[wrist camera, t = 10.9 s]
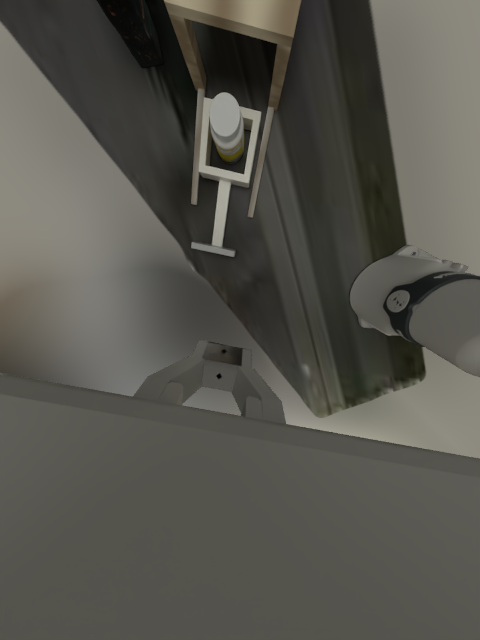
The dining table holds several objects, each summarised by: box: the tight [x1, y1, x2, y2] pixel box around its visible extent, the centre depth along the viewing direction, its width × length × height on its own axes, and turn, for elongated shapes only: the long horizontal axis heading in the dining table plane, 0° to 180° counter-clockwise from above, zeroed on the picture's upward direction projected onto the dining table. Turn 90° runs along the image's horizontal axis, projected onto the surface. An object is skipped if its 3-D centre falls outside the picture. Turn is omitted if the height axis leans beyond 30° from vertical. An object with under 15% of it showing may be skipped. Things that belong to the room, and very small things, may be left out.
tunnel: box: [164, 0, 301, 218], centre depth 22 cm, size 13×31×11 cm, turn 169°
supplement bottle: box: [209, 92, 245, 164], centre depth 25 cm, size 5×5×8 cm
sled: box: [191, 97, 261, 257], centre depth 29 cm, size 8×20×5 cm, turn 169°
